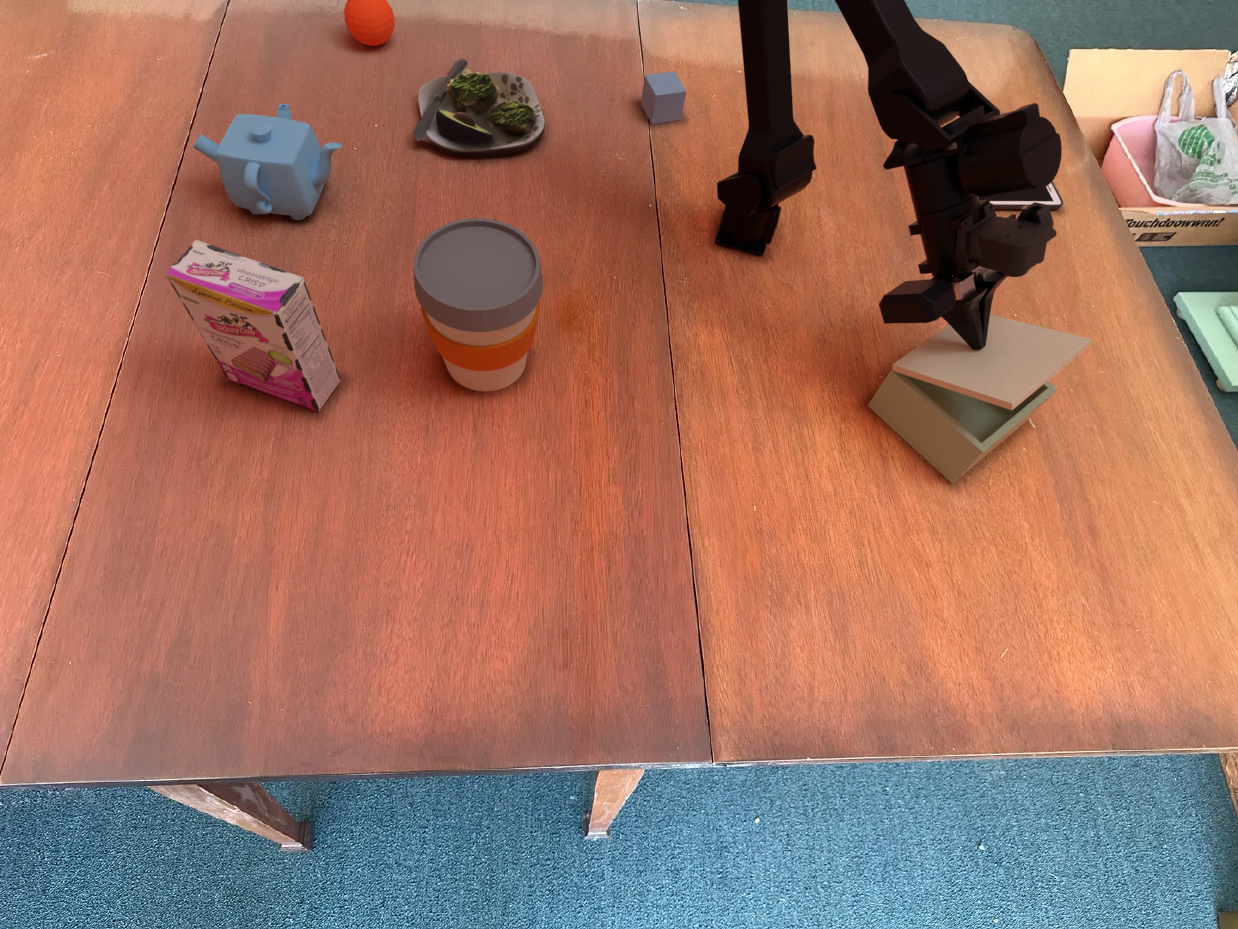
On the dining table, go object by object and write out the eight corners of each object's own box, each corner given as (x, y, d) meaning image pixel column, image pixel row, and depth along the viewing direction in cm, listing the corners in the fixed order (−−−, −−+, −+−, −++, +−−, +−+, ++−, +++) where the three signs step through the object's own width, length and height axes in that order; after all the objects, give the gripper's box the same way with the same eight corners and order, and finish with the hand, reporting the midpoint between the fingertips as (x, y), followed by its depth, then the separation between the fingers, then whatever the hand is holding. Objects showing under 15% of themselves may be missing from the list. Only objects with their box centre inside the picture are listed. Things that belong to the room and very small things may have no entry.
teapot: (194, 223, 93) (159, 152, 85) (234, 146, 100) (206, 74, 92) (344, 243, 94) (325, 175, 85) (374, 166, 101) (359, 96, 92)
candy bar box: (224, 382, 83) (160, 273, 68) (251, 348, 85) (194, 235, 71) (320, 416, 82) (275, 312, 67) (344, 380, 84) (305, 273, 70)
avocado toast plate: (404, 73, 111) (399, 42, 107) (528, 67, 114) (528, 36, 110) (417, 164, 102) (412, 134, 98) (551, 155, 105) (552, 125, 101)
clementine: (335, 49, 112) (323, -1, 106) (351, 22, 116) (341, -28, 110) (389, 59, 112) (381, 10, 106) (404, 32, 116) (397, -17, 110)
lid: (1090, 345, 78) (1091, 338, 78) (1012, 410, 73) (1012, 403, 73) (969, 315, 88) (969, 308, 88) (892, 370, 83) (892, 364, 82)
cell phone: (947, 171, 111) (950, 166, 110) (1041, 172, 113) (1045, 167, 112) (964, 210, 107) (967, 204, 106) (1062, 210, 109) (1066, 205, 108)
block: (651, 124, 110) (656, 95, 106) (640, 104, 112) (644, 74, 108) (681, 120, 112) (686, 90, 108) (669, 100, 114) (674, 70, 110)
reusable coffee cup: (493, 299, 92) (486, 198, 79) (565, 363, 88) (570, 269, 75) (405, 353, 87) (383, 255, 74) (478, 425, 83) (467, 334, 70)
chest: (1024, 423, 90) (1058, 388, 84) (952, 484, 85) (983, 452, 79) (940, 351, 94) (967, 314, 88) (867, 405, 89) (890, 370, 83)
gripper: (960, 231, 65) (997, 396, 71) (1083, 151, 72) (1107, 307, 78) (857, 244, 74) (897, 388, 80) (975, 172, 81) (1004, 310, 87)
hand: (979, 348), depth 81 cm, fingers closed, pressing on lid
